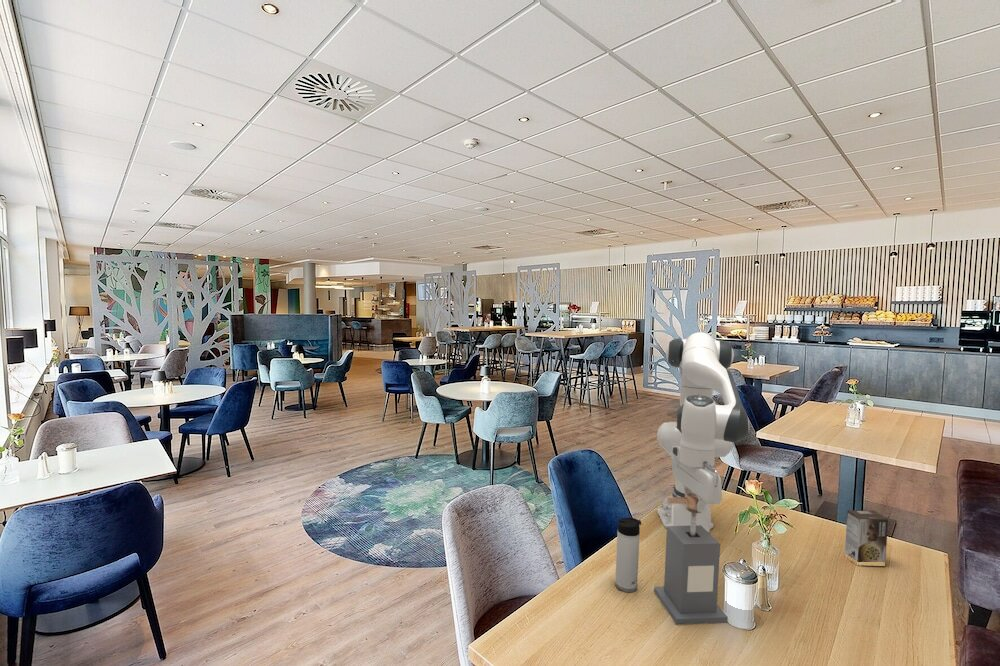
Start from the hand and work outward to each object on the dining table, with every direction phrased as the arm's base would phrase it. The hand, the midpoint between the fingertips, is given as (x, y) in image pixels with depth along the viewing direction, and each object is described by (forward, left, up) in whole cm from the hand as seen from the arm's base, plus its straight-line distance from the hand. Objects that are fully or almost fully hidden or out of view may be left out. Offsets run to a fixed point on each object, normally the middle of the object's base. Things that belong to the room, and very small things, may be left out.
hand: (694, 506), depth 128 cm
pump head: (0, -3, -17) cm, 17 cm away
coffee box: (-19, +70, -29) cm, 78 cm away
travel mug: (-10, -14, -29) cm, 33 cm away
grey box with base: (0, 0, -28) cm, 28 cm away
